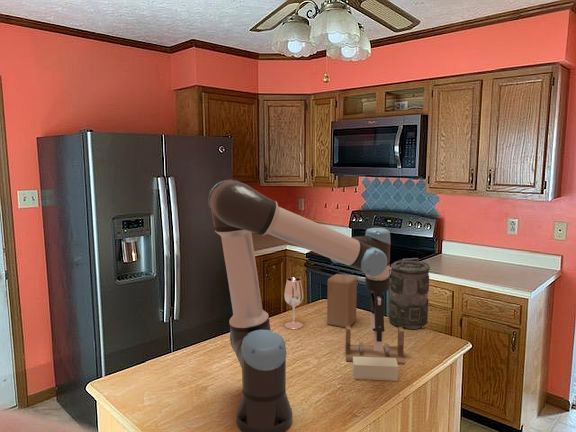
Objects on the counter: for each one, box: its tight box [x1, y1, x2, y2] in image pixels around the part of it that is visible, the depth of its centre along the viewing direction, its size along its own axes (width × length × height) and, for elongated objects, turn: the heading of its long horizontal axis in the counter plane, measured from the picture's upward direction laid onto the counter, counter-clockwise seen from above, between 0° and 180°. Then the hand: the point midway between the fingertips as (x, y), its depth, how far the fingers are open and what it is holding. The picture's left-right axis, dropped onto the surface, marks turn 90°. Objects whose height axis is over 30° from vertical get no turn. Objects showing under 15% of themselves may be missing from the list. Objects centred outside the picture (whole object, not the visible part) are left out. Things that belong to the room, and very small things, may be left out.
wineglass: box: [283, 277, 304, 330], centre depth 187 cm, size 8×8×20 cm
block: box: [326, 273, 358, 329], centre depth 189 cm, size 10×10×20 cm
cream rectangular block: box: [352, 357, 400, 382], centre depth 146 cm, size 6×14×5 cm, turn 85°
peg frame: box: [344, 325, 406, 365], centre depth 161 cm, size 13×20×10 cm, turn 84°
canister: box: [388, 257, 431, 330], centre depth 189 cm, size 16×16×28 cm
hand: (376, 340), depth 145 cm, fingers open, 13 cm apart
